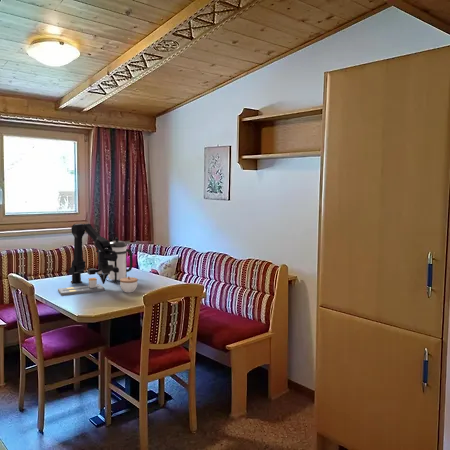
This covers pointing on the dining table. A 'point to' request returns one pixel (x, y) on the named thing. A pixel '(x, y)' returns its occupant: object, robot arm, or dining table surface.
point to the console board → (80, 290)
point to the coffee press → (120, 260)
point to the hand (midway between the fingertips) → (103, 283)
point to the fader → (92, 282)
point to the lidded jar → (128, 284)
